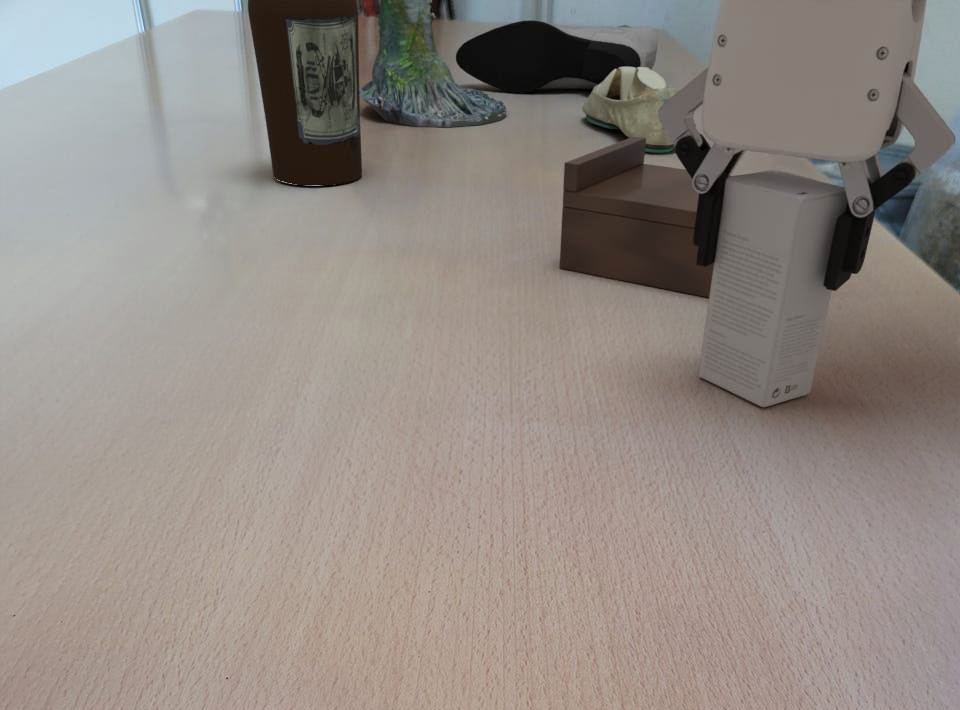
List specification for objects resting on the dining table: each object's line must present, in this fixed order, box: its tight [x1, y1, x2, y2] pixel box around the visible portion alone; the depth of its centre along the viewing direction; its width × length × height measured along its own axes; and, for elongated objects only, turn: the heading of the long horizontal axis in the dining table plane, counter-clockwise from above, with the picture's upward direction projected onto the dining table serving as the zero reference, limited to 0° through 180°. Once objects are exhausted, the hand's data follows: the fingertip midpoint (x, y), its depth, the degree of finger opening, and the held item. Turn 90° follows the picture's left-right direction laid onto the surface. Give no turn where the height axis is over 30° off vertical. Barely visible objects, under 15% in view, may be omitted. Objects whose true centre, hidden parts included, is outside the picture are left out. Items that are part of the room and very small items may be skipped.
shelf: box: [559, 136, 714, 299], centre depth 80 cm, size 16×12×8 cm
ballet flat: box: [581, 67, 680, 154], centre depth 123 cm, size 8×25×8 cm, turn 15°
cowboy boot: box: [455, 19, 659, 94], centre depth 154 cm, size 10×28×25 cm
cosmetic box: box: [697, 169, 848, 408], centre depth 59 cm, size 6×4×12 cm
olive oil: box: [247, 0, 363, 186], centre depth 99 cm, size 11×11×25 cm
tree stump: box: [359, 0, 507, 128], centre depth 132 cm, size 18×20×18 cm
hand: (772, 269), depth 59 cm, fingers closed on cosmetic box, 7 cm apart
